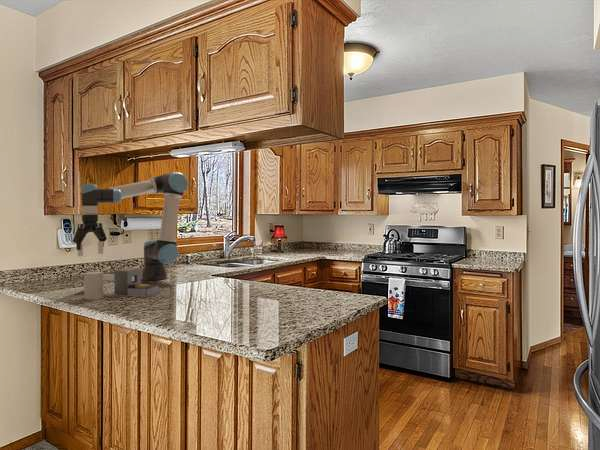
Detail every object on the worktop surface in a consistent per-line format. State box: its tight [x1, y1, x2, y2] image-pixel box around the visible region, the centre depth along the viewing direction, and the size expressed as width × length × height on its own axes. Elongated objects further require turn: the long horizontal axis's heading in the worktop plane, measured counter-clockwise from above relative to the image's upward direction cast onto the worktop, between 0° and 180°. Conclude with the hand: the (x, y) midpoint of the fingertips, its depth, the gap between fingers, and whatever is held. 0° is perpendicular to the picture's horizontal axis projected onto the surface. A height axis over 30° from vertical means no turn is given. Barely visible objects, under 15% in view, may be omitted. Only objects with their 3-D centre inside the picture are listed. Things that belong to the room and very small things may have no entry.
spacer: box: [135, 283, 149, 289], centre depth 212 cm, size 5×4×4 cm
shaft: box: [83, 270, 135, 282], centre depth 218 cm, size 4×29×9 cm, turn 72°
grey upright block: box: [83, 271, 104, 300], centre depth 203 cm, size 8×8×12 cm
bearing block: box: [113, 267, 142, 297], centre depth 214 cm, size 10×8×12 cm
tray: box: [127, 285, 161, 298], centre depth 211 cm, size 10×11×4 cm
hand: (90, 255), depth 221 cm, fingers open, 13 cm apart
